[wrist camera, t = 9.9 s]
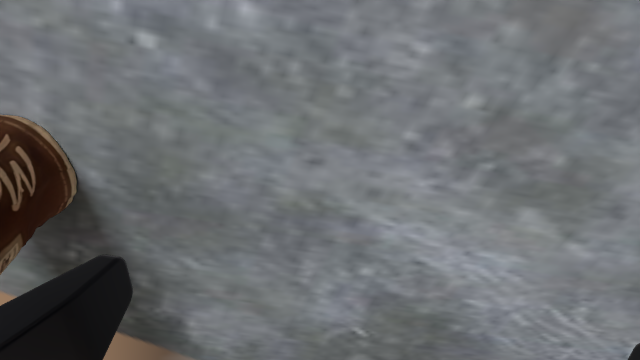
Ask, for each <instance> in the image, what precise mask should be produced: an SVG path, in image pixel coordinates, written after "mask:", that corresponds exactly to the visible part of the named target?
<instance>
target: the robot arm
mask: <svg viewBox="0 0 640 360" xmlns="http://www.w3.org/2000/svg"><path fill="white" fill-rule="evenodd" d="M132 293H133V289H132V284H131V280H130V276H129V272H128V268H127V265H126V262H125V260H124V259H123V258H121V257H117V256H111V255H100V256H98V257H96V258H94V259H92V260H90V261H88V262H86V263H84V264H82V265H80V266H78V267H76V268H74V269H72V270H70V271H68V272H66V273H64V274H62V275H60V276H58V277H56V278H54V279H52V280H50V281H48V282H46V283H44V284H42V285H40V286H38V287H36V288H34V289H32V290H30V291H29V292H27V293H25V294H23V295H21V296H19V297H17V298H15V299H13V300H11V301H9V302H7V303H5V304H3V305H1V306H0V360H103V358H104V356H105V354H106V352H107V350H108V348H109V345H110V343H111V341H112V339H113V337H114V335H115V333H116V331H117V329H118V327H119V324H120V322H121V320H122V318H123V316H124V314H125V312H126V310H127V308H128V306H129V303H130V301H131V298H132ZM628 360H640V343H639V344H637V345H636V346H635V348H634V349H633V351H632V353H631V355H630V356H629V358H628Z"/></svg>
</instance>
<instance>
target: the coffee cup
mask: <svg viewBox="0 0 640 360" xmlns="http://www.w3.org/2000/svg"><path fill="white" fill-rule="evenodd" d="M76 185H77V179H76V175H75V172H74V169H73V167H72V166H71V164H70V162H69V160H68V159H67V157H66V155H65V153H64V152H63V151H62V149H61V148H60V146H59V145H58V143H57V142H56V141H55V140H54V139H53V137H52V136H51V135H50V134H49V133H48V132H47V131H46V130H45V129H43V128H42V127H41V126H38V125H37V124H35V123H34V122H32V121H30V120H27V119H25V118H22V117H19V116H10V115H0V275H1V273H2V272H3V271H4V270H5V268H6V267H7V266H8V265H9V264H10V263H11V261H12V260H13V259H14V258H15V257H16V256H17V254H18V253H19V251H20V249H21V248H22V247H23V246H24V245H26V242H27V241H28V240H29V239H30V238H31V237H32V236H33V234H34V232H35V230H36V228H37V227H40V226H42V225H43V224H44V223H45V222H46V221H47V220H48V219H49V218H51V217H53V216H55V215H57V214H58V213H60V212H61V211H62V210H64V209H65V208H66V207H67V206H68V204H70V203H71V202H72V201H73V196H74V195H75V194H76V192H77V190H76Z"/></svg>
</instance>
